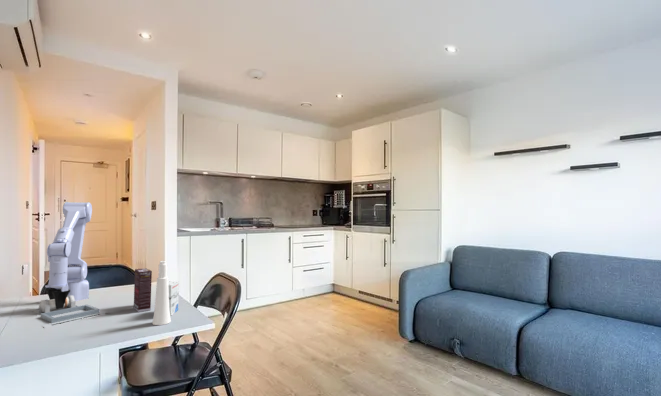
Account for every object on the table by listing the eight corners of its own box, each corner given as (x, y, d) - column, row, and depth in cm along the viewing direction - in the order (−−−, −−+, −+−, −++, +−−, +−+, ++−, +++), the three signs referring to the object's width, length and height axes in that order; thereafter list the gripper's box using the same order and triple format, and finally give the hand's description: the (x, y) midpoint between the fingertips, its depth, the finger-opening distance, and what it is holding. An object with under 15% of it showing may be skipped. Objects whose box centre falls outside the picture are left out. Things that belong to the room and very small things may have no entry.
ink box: (166, 310, 141) (166, 280, 141) (178, 309, 141) (179, 280, 141) (157, 316, 132) (158, 285, 132) (170, 316, 132) (171, 285, 133)
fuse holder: (71, 305, 146) (71, 297, 146) (81, 309, 141) (81, 300, 141) (32, 313, 135) (32, 303, 135) (41, 317, 130) (41, 308, 130)
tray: (86, 310, 140) (87, 304, 140) (99, 314, 134) (99, 309, 134) (40, 319, 128) (40, 313, 128) (51, 325, 121) (51, 318, 121)
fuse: (69, 305, 143) (70, 294, 143) (74, 307, 141) (75, 296, 141) (39, 310, 135) (40, 299, 135) (43, 313, 133) (44, 301, 132)
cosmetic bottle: (168, 324, 123) (169, 262, 123) (149, 325, 121) (151, 262, 122) (172, 319, 128) (173, 259, 129) (155, 320, 127) (156, 260, 128)
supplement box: (151, 310, 140) (152, 270, 141) (138, 312, 137) (139, 272, 138) (146, 305, 147) (146, 267, 147) (133, 307, 144) (134, 269, 144)
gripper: (39, 272, 139) (38, 306, 139) (53, 276, 131) (51, 312, 131) (60, 269, 145) (59, 302, 145) (74, 273, 137) (73, 308, 136)
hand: (57, 307), depth 138 cm, fingers open, 4 cm apart
